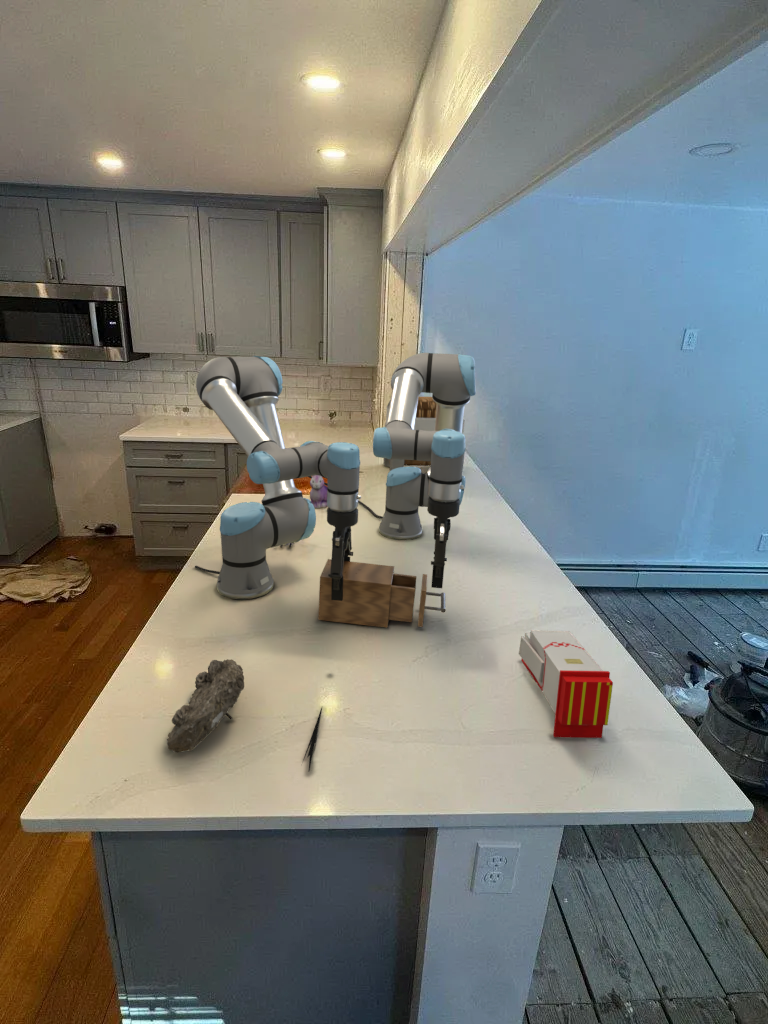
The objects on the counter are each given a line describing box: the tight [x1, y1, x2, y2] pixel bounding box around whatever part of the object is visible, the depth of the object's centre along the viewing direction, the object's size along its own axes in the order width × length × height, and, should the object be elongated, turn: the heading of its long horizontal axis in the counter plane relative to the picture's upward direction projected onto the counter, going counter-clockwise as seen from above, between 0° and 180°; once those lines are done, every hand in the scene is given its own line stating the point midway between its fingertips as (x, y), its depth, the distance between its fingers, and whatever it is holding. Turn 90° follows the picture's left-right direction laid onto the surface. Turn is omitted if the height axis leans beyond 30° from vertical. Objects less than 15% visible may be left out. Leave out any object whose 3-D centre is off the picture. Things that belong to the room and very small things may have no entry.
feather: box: [301, 673, 332, 771], centre depth 108 cm, size 2×28×2 cm
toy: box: [518, 629, 614, 739], centre depth 118 cm, size 12×13×30 cm
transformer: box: [383, 396, 465, 472], centre depth 268 cm, size 34×33×41 cm
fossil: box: [166, 658, 245, 754], centre depth 106 cm, size 22×10×15 cm
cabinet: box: [317, 558, 395, 629], centre depth 144 cm, size 17×10×12 cm, turn 85°
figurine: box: [309, 475, 328, 509], centre depth 223 cm, size 9×10×15 cm
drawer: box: [388, 573, 447, 628], centre depth 143 cm, size 21×9×10 cm, turn 85°
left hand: (340, 589), depth 144 cm, fingers closed on cabinet, 10 cm apart
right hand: (436, 586), depth 142 cm, fingers closed
